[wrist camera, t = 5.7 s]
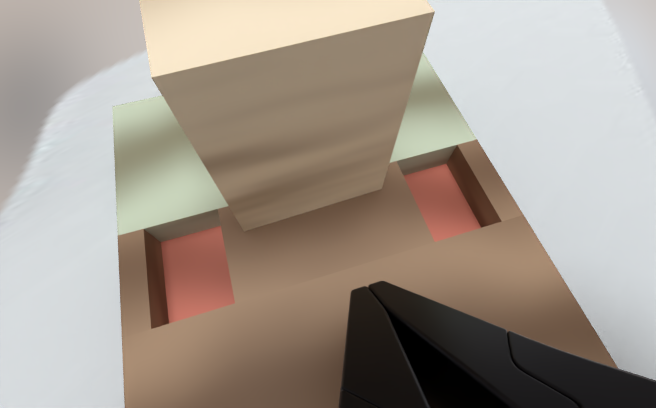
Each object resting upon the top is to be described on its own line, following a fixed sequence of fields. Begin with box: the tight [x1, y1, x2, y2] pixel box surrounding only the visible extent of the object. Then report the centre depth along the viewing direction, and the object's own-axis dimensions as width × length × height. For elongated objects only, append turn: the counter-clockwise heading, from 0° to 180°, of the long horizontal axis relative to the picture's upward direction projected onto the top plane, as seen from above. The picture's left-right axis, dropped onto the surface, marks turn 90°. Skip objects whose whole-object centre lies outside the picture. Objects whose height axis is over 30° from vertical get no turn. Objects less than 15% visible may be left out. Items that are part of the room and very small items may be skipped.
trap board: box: [113, 52, 618, 408], centre depth 14 cm, size 19×16×2 cm
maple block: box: [139, 0, 435, 231], centre depth 12 cm, size 8×6×8 cm
